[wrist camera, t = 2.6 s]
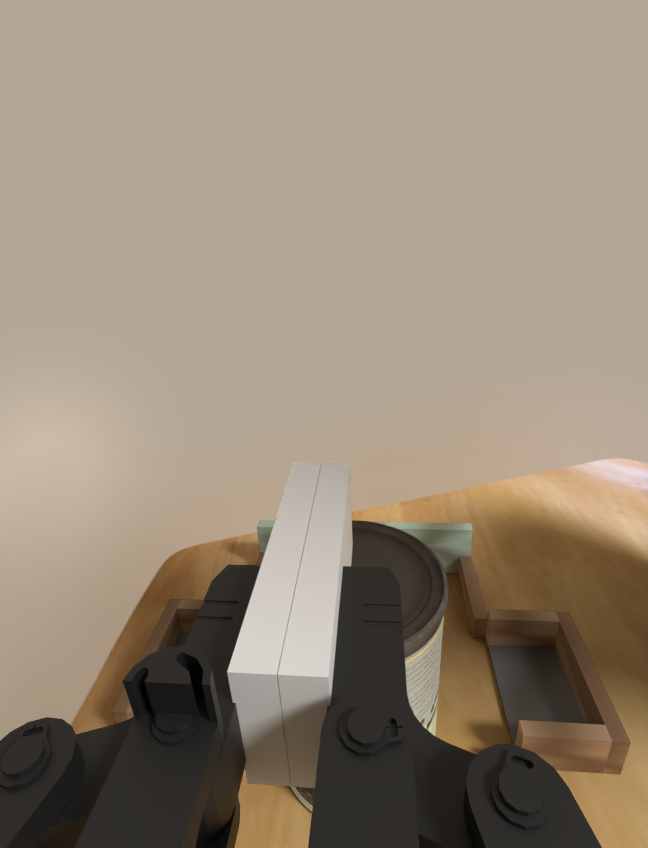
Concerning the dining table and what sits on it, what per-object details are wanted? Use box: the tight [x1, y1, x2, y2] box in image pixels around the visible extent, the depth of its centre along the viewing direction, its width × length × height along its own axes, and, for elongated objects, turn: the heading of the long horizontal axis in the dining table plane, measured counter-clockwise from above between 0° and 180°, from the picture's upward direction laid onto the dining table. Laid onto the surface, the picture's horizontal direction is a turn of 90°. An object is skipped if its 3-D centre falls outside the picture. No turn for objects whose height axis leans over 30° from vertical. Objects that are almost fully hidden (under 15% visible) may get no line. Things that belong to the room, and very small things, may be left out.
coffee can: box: [290, 521, 449, 812], centre depth 29 cm, size 10×10×14 cm
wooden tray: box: [112, 521, 630, 774], centre depth 35 cm, size 32×26×5 cm
